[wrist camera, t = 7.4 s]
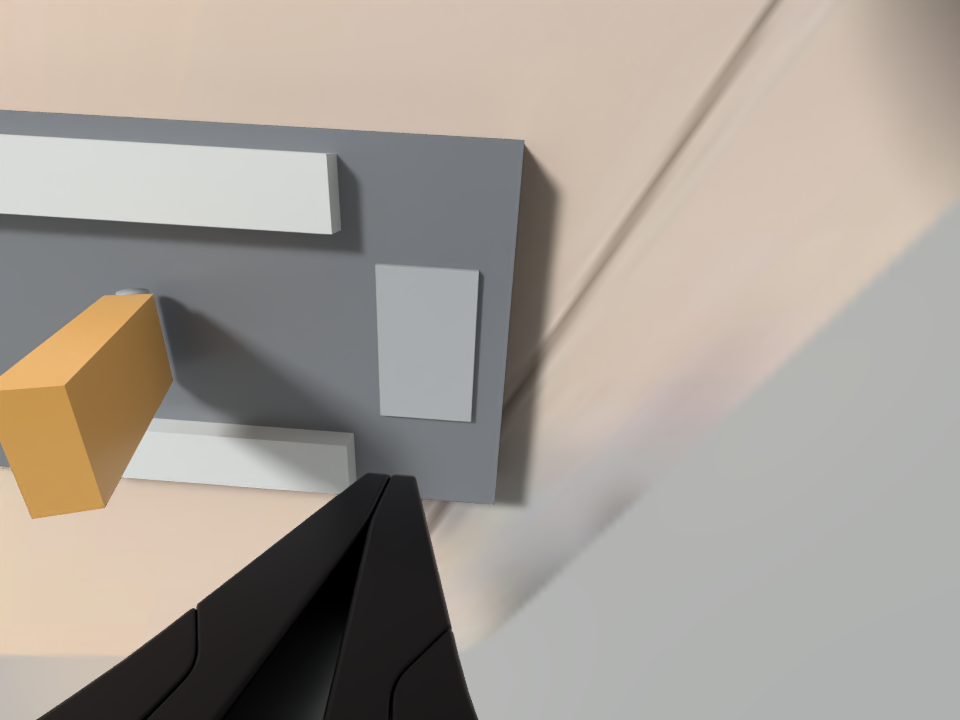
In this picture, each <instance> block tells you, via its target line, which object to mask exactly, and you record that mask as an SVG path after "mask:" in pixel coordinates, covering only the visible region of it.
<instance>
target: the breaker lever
mask: <svg viewBox="0 0 960 720" xmlns="http://www.w3.org/2000/svg"><path fill="white" fill-rule="evenodd" d="M115 294H116V295H104V296H103V297H101V298H100V299H99V300H97V301H96V302H95V303H94V304H92V305H91V306H90V307H88V308H87V309H86V310H85V311H83V312H82V313H81V314H79V315H78V316H77V317H76V318H74V319H73V320H72V321H70V322H69V323H68V324H67V325H65V326H64V327H63V328H61V329H60V330H59V331H58V332H56V333H55V334H54V335H53V336H51V337H50V338H49V339H47V340H46V341H45V342H44V343H42V344H41V345H40V346H38V347H37V348H36V349H35V350H33V351H32V352H31V353H29V354H28V355H27V356H26V357H24V358H23V359H22V360H20V361H19V362H18V363H17V364H15V365H14V366H13V367H11V368H10V369H9V370H8V371H6V372H5V373H4V374H2V375H1V376H0V443H1V445H2V448H3V450H4V453H5V455H6V457H7V460H8V462H9V465H10V467H11V469H12V472H13V474H14V477H15V479H16V482H17V484H18V486H19V489H20V491H21V494H22V496H23V498H24V501H25V503H26V506H27V508H28V511H29V513H30V515H31V518H32V519H34V518H41V517H48V516H54V515H61V514H68V513H74V512H81V511H88V510H94V509H101V508H105V507H106V505H107V503H108V501H109V499H110V497H111V496H112V494H113V492H114V490H115V488H116V486H117V484H118V483H119V481H120V479H121V477H122V475H123V473H124V471H125V470H126V468H127V466H128V464H129V462H130V460H131V458H132V457H133V455H134V453H135V451H136V449H137V447H138V445H139V444H140V442H141V440H142V438H143V436H144V434H145V432H146V431H147V429H148V427H149V425H150V423H151V421H152V419H153V418H154V416H155V414H156V412H157V410H158V408H159V406H160V405H161V403H162V401H163V399H164V397H165V395H166V393H167V392H168V390H169V388H170V386H171V384H172V382H173V377H172V372H171V368H170V364H169V359H168V355H167V350H166V346H165V342H164V337H163V333H162V328H161V324H160V320H159V315H158V311H157V307H156V302H155V298H154V294H150V293H149V290H148V289H145V288H130V289H124V290H120V291H117V292H116V293H115Z"/></svg>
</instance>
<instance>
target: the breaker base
mask: <svg viewBox="0 0 960 720" xmlns="http://www.w3.org/2000/svg"><path fill="white" fill-rule="evenodd" d="M523 151H524V140H514V139H496V138H479V137H462V136H445V135H427V134H410V133H393V132H375V131H358V130H341V129H323V128H306V127H289V126H272V125H254V124H237V123H220V122H202V121H185V120H168V119H150V118H133V117H116V116H99V115H81V114H64V113H47V112H29V111H12V110H0V376H1V375H2V374H4V373H5V372H6V371H8V370H9V369H10V368H11V367H13V366H14V365H15V364H17V363H18V362H19V361H20V360H22V359H23V358H24V357H26V356H27V355H28V354H29V353H31V352H32V351H33V350H35V349H36V348H37V347H38V346H40V345H41V344H42V343H44V342H45V341H46V340H47V339H49V338H50V337H51V336H53V335H54V334H55V333H56V332H58V331H59V330H60V329H61V328H63V327H64V326H65V325H67V324H68V323H69V322H70V321H72V320H73V319H74V318H76V317H77V316H78V315H79V314H81V313H82V312H83V311H85V310H86V309H87V308H88V307H90V306H91V305H92V304H94V303H95V302H96V301H97V300H99V299H100V298H101V297H103V296H104V295H116V294H115V293H116V292H117V291H120V290H124V289H130V288H145V289H148V290H149V293H150V294H154V298H155V302H156V307H157V311H158V315H159V320H160V324H161V328H162V333H163V337H164V342H165V346H166V350H167V355H168V359H169V364H170V368H171V372H172V377H173V382H172V384H171V386H170V388H169V390H168V392H167V393H166V395H165V397H164V399H163V401H162V403H161V405H160V406H159V408H158V410H157V412H156V414H155V416H154V418H153V419H152V421H151V423H150V425H149V427H148V429H147V431H146V432H145V434H144V436H143V438H142V440H141V442H140V444H139V445H138V447H137V449H136V451H135V453H134V455H133V457H132V458H131V460H130V462H129V464H128V466H127V468H126V470H125V471H124V473H123V475H122V477H124V478H137V479H149V480H162V481H175V482H188V483H201V484H214V485H227V486H239V487H252V488H265V489H278V490H291V491H304V492H317V493H330V494H340V493H341V492H342V491H344V490H345V489H346V488H348V487H349V486H350V485H351V484H353V483H354V482H355V481H357V480H358V479H359V478H360V477H362V476H363V475H364V474H366V473H368V472H376V473H388V474H390V475H391V476H392V475H394V474H402V475H413V476H415V477H416V480H417V484H418V488H419V492H420V496H421V499H430V500H443V501H456V502H469V503H482V504H494V502H495V489H496V477H497V465H498V453H499V441H500V429H501V417H502V405H503V393H504V381H505V368H506V356H507V344H508V332H509V320H510V308H511V296H512V284H513V272H514V260H515V247H516V235H517V223H518V211H519V199H520V187H521V175H522V163H523ZM0 466H5V467H10V465H9V462H8V460H7V457H6V455H5V453H4V450H3V448H2V445H1V443H0Z"/></svg>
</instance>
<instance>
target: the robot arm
mask: <svg viewBox="0 0 960 720" xmlns="http://www.w3.org/2000/svg"><path fill="white" fill-rule="evenodd" d="M451 630H452V627H451V623H450V619H449V614H448V610H447V606H446V602H445V598H444V593H443V589H442V585H441V581H440V576H439V572H438V568H437V564H436V560H435V555H434V551H433V547H432V543H431V539H430V534H429V530H428V526H427V522H426V517H425V513H424V509H423V505H422V501H421V496H420V492H419V488H418V484H417V480H416V477H415V476H413V475H402V474H394V475H392V476H391V475H390V474H388V473H376V472H368V473H366V474H364V475H363V476H362V477H360V478H359V479H358V480H357V481H355V482H354V483H353V484H351V485H350V486H349V487H348V488H346V489H345V490H344V491H342V492H341V493H340V494H339V495H337V496H336V497H335V498H333V499H332V500H331V501H329V502H328V503H327V504H326V505H324V506H323V507H322V508H320V509H319V510H318V511H317V512H315V513H314V514H313V515H311V516H310V517H309V518H308V519H306V520H305V521H304V522H302V523H301V524H300V525H299V526H297V527H296V528H295V529H293V530H292V531H291V532H290V533H288V534H287V535H286V536H284V537H283V538H282V539H281V540H279V541H278V542H277V543H275V544H274V545H273V546H272V547H270V548H269V549H268V550H266V551H265V552H264V553H263V554H261V555H260V556H259V557H257V558H256V559H255V560H254V561H252V562H251V563H250V564H248V565H247V566H246V567H244V568H243V569H242V570H241V571H239V572H238V573H237V574H235V575H234V576H233V577H232V578H230V579H229V580H228V581H226V582H225V583H224V584H223V585H221V586H220V587H219V588H217V589H216V590H215V591H214V592H212V593H211V594H210V595H208V596H207V597H206V598H205V599H203V600H202V601H201V602H199V603H198V604H197V607H196V609H194V608H192V609H190V610H189V611H188V612H186V613H185V614H184V615H182V616H181V617H180V618H178V619H177V620H176V621H175V622H173V623H172V624H171V625H169V626H168V627H167V628H166V629H164V630H163V631H162V632H160V633H159V634H158V635H156V636H155V637H154V638H152V639H151V640H150V641H148V642H147V643H145V644H144V645H143V646H141V647H140V648H139V649H137V650H136V651H135V652H133V653H132V654H131V655H129V656H128V657H127V658H125V659H124V660H123V661H121V662H120V663H118V664H117V665H116V666H114V667H113V668H111V669H110V670H108V671H107V672H105V673H104V674H103V675H101V676H100V677H98V678H97V679H95V680H94V681H92V682H91V683H90V684H88V685H87V686H86V687H84V688H82V689H81V690H80V691H78V692H77V693H75V694H74V695H72V696H71V697H70V698H68V699H66V700H65V701H64V702H62V703H61V704H59V705H57V706H56V707H55V708H53V709H52V710H50V711H49V712H47V713H46V714H44V715H43V716H41V717H40V718H38V719H37V720H478V718H477V715H476V712H475V709H474V706H473V703H472V700H471V698H470V695H469V692H468V688H467V684H466V681H465V677H464V674H463V670H462V666H461V663H460V659H459V655H458V651H457V647H456V643H455V639H454V634H453V632H452V631H451Z"/></svg>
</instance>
